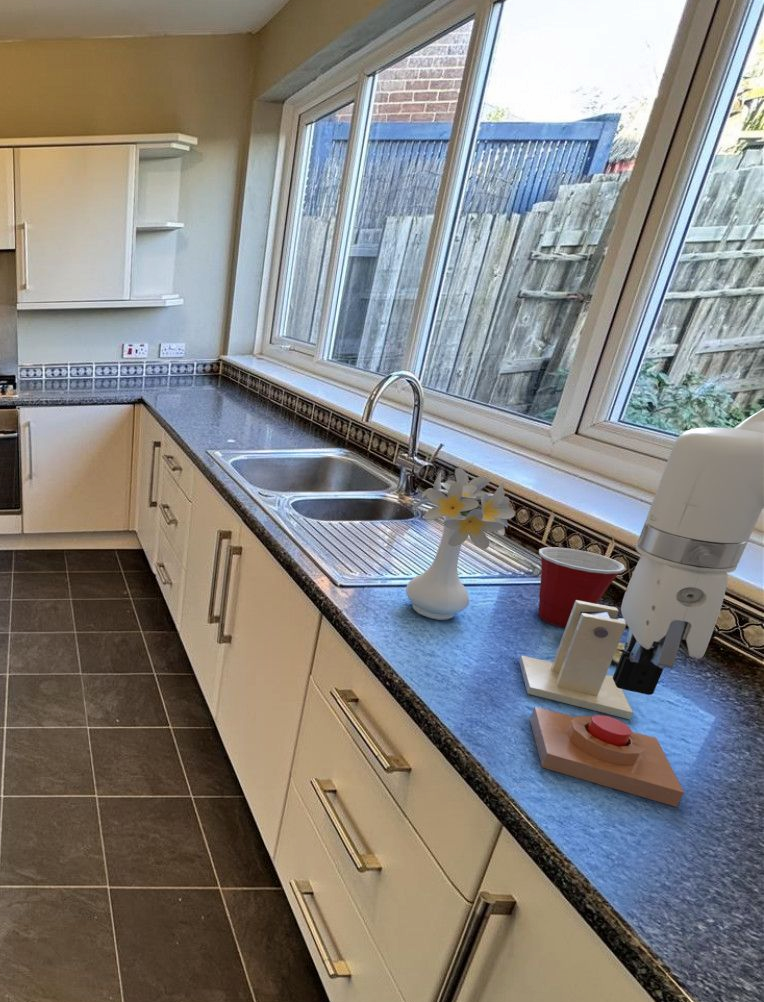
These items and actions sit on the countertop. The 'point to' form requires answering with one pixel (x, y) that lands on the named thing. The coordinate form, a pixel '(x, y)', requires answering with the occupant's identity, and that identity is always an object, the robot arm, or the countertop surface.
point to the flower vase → (456, 540)
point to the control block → (604, 757)
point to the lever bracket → (582, 663)
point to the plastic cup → (572, 581)
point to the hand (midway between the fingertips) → (631, 687)
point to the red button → (609, 730)
